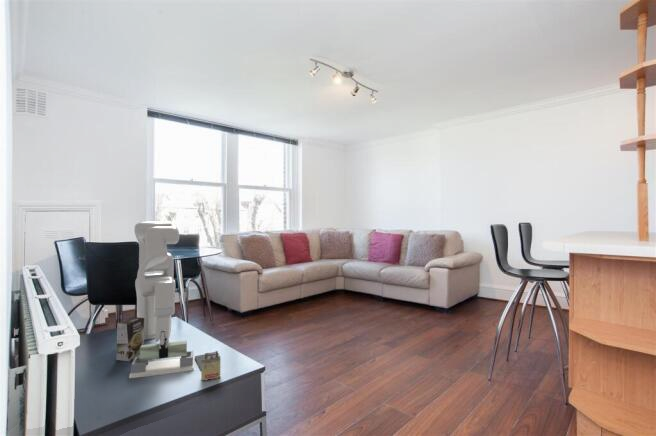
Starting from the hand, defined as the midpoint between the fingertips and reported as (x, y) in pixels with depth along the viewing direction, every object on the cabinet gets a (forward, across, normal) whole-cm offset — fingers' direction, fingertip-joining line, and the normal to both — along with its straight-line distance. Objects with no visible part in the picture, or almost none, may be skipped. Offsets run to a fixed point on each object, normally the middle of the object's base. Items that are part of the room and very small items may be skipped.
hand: (164, 355), depth 139 cm
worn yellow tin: (+6, +14, +18) cm, 24 cm away
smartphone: (+6, -1, +16) cm, 17 cm away
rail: (+1, 0, 0) cm, 1 cm away
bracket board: (+5, 0, 0) cm, 5 cm away
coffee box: (+5, -17, -15) cm, 23 cm away
